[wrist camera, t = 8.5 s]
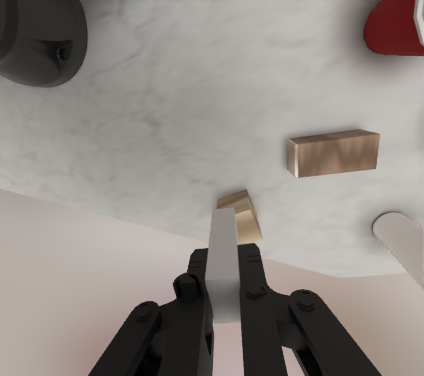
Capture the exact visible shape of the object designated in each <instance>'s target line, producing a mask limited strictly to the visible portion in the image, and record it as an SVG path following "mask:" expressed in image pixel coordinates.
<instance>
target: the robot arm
mask: <svg viewBox="0 0 424 376" xmlns="http://www.w3.org/2000/svg"><path fill="white" fill-rule="evenodd" d="M86 46H87V28H86V21H85V17H84V13H83V10H82V7H81V4H80V2H79V0H0V76H2V77H5V78H7V79H9V80H11V81H14V82H16V83H19V84H23V85H27V86H36V87H53V86H57V85H60V84H63V83H65V82H66V81H68V80H69V79H70V78H72V77H73V76H74V75H75V73H76V72H77V71H78V69H79V68H80V66H81V64H82V62H83V59H84V56H85V52H86ZM173 287H174V290H175V294H176V297H177V298H176V299H175V300H174V301H172V302H169V303H167V304H164V305H162V306H158V304H157V303H155V302H153V301H146V302H143V303H141V304H139V305H138V306H136V307H135V308H134V310H133V311H132V312H131V313H130V315H129V316H128V318H127V319H126V321H125V322H124V324H123V325H122V327H121V328H120V329H119V331H118V333H117V334H116V335H115V337H114V338H113V340H112V341H111V343H110V344H109V346H108V347H107V348H106V350H105V351H104V353H103V354H102V356H101V357H100V359H99V360H98V362H97V363H96V365H95V366H94V368H93V369H92V371H91V372H90V374H89V375H88V376H212V371H213V349H214V331H213V319H214V323H230V322H241V331H242V347H243V362H244V376H288V374H287V369H286V365H285V360H284V356H283V351H282V346H284V347H287V348H290V349H292V351H293V353H294V355H295V357H296V358H297V361H298V363H299V365H300V367H301V369H302V371H303V373H304V375H305V376H382V375H381V374H380V373H379V372H378V370H377V369H376V368H375V366H374V365H373V364H372V362H371V361H370V360H369V359H368V358H367V356H366V355H365V354H364V352H363V351H362V350H361V349H360V347H359V346H358V345H357V343H356V342H355V341H354V340H353V338H352V337H351V336H350V335H349V333H348V332H347V331H346V329H345V328H344V327H343V326H342V324H341V323H340V322H339V321H338V319H337V318H336V317H335V315H334V314H333V313H332V312H331V310H330V309H329V308H328V307H327V305H326V304H325V303H324V301H323V300H322V299H321V298H320V297H319V296H318V295H317V294H316V293H314V292H312V291H309V290H304V289H302V290H297V291H294V292H292V293H291V295H290V296H288V295H283V294H280V293H277V292H275V291H273V290H272V289H270V287H269V286H268V285H267V282H266V278H265V273H264V269H263V264H262V259H261V255H260V250H259V248H258V247H257V245H256V244H255V243H250V244H240V245H239V240H238V232H237V225H236V218H235V211H234V207H233V208H224V209H215V210H213V213H212V222H211V231H210V239H209V248H205V249H195V250H194V252H193V253H192V254H191V256H190V261H189V265H188V270H187V273H183V274H181V275H180V276H178V277H177V278H176V279H175V280H174V283H173Z"/></svg>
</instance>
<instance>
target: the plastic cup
mask: <svg viewBox="0 0 424 376" xmlns="http://www.w3.org/2000/svg"><path fill="white" fill-rule="evenodd" d="M364 39H365V41H366V44H367V46H368V47H369V48H370V49H371V50H372V51H373V52H376V53H379V54H384V55H399V56H424V0H382V1H381V2H380V3H379V4H378V5H377V6H376V8H375V9H374V10H373V12H372V13H371V14H370V16H369V17H368V20H367V23H366V25H365V31H364Z"/></svg>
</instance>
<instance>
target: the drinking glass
mask: <svg viewBox="0 0 424 376" xmlns="http://www.w3.org/2000/svg"><path fill="white" fill-rule="evenodd" d="M373 233H374V235H375V237H376V238H377V239H378V240H379V241H380V242H381V243H382V244H383V245H384V246H385V247H386V248H387V249H388V250H389V251H390V253H391V254H392V255H393V256H394V257H395V258H396V259H397V261H398V262H399V263H400V264H401V265H402V266H403V267H404V269H405V270H406V271H407V272H408V273H409V274H410V276H411V277H412V278H413V279H414V280H415V281H416V282H417V284H418V285H419V286H421V288H422V289H423V290H424V226H422V225H420V224H419V223H417V222H415V221H413V220H411V219H410V218H408V217H407V216H405V215H403V214H401V213H396V212H391V213H387V214H384V215H382V216H380V217H379V218H378V219H377V220H376V221H375V223H374V225H373Z"/></svg>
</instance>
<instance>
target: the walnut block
mask: <svg viewBox="0 0 424 376" xmlns="http://www.w3.org/2000/svg"><path fill="white" fill-rule="evenodd" d="M379 138H380V134H378V133H374V132H369V131H365V130H353V131H345V132H338V133H330V134H323V135H315V136H308V137H300V138H293V139H286V147H287V169H288V170H289V171H290V173H291V174H292V175H293V176H294V177H295V178H300V177H309V176H318V175H326V174H335V173H344V172H353V171H362V170H371V169H376V165H377V156H378V147H379Z"/></svg>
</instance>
